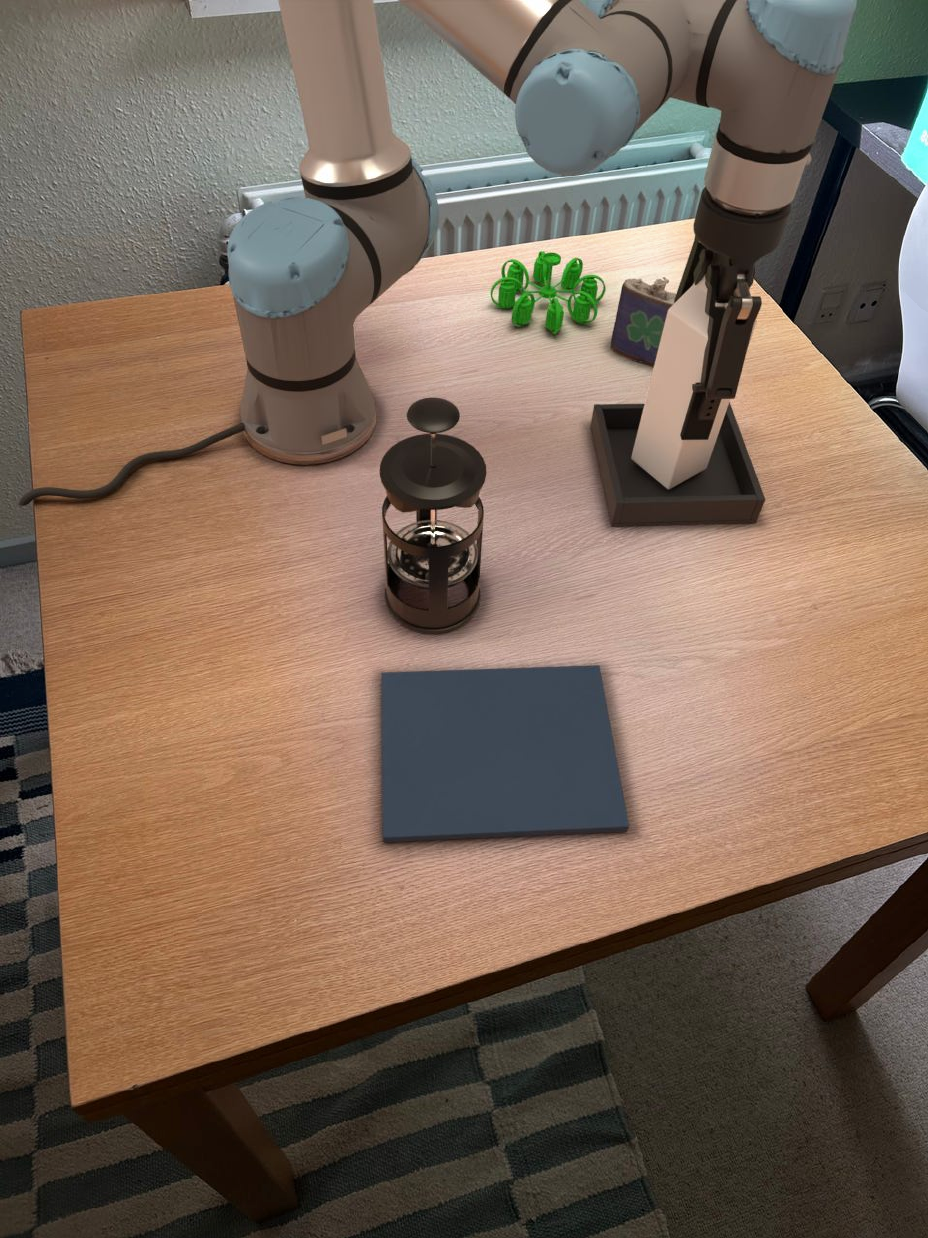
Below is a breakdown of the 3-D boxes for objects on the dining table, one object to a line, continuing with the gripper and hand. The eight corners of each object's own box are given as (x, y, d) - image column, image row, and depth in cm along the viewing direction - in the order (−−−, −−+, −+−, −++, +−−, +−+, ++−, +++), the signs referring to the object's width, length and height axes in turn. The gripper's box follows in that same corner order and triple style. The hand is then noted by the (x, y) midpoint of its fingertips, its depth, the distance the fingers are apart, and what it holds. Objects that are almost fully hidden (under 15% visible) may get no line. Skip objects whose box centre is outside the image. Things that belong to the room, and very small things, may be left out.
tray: (611, 526, 96) (616, 503, 94) (589, 428, 106) (594, 403, 103) (756, 523, 97) (765, 499, 94) (722, 425, 107) (729, 401, 104)
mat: (383, 843, 74) (382, 837, 73) (381, 678, 84) (381, 672, 83) (627, 831, 75) (629, 826, 74) (597, 671, 85) (599, 664, 84)
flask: (682, 362, 114) (703, 284, 105) (674, 375, 112) (694, 297, 104) (614, 339, 116) (628, 261, 108) (605, 351, 115) (619, 273, 106)
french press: (488, 635, 87) (503, 453, 69) (389, 644, 86) (378, 461, 68) (471, 544, 94) (480, 357, 76) (379, 551, 93) (367, 363, 75)
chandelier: (613, 338, 116) (622, 289, 111) (496, 342, 115) (500, 293, 110) (592, 272, 125) (599, 224, 120) (483, 275, 124) (486, 226, 119)
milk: (668, 491, 98) (722, 312, 80) (629, 458, 101) (673, 279, 83) (707, 468, 100) (768, 290, 83) (669, 437, 103) (720, 258, 86)
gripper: (829, 264, 70) (745, 479, 88) (759, 134, 83) (698, 345, 101) (734, 264, 70) (669, 480, 88) (678, 133, 82) (631, 345, 101)
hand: (684, 408), depth 94 cm, fingers closed on milk, 8 cm apart
